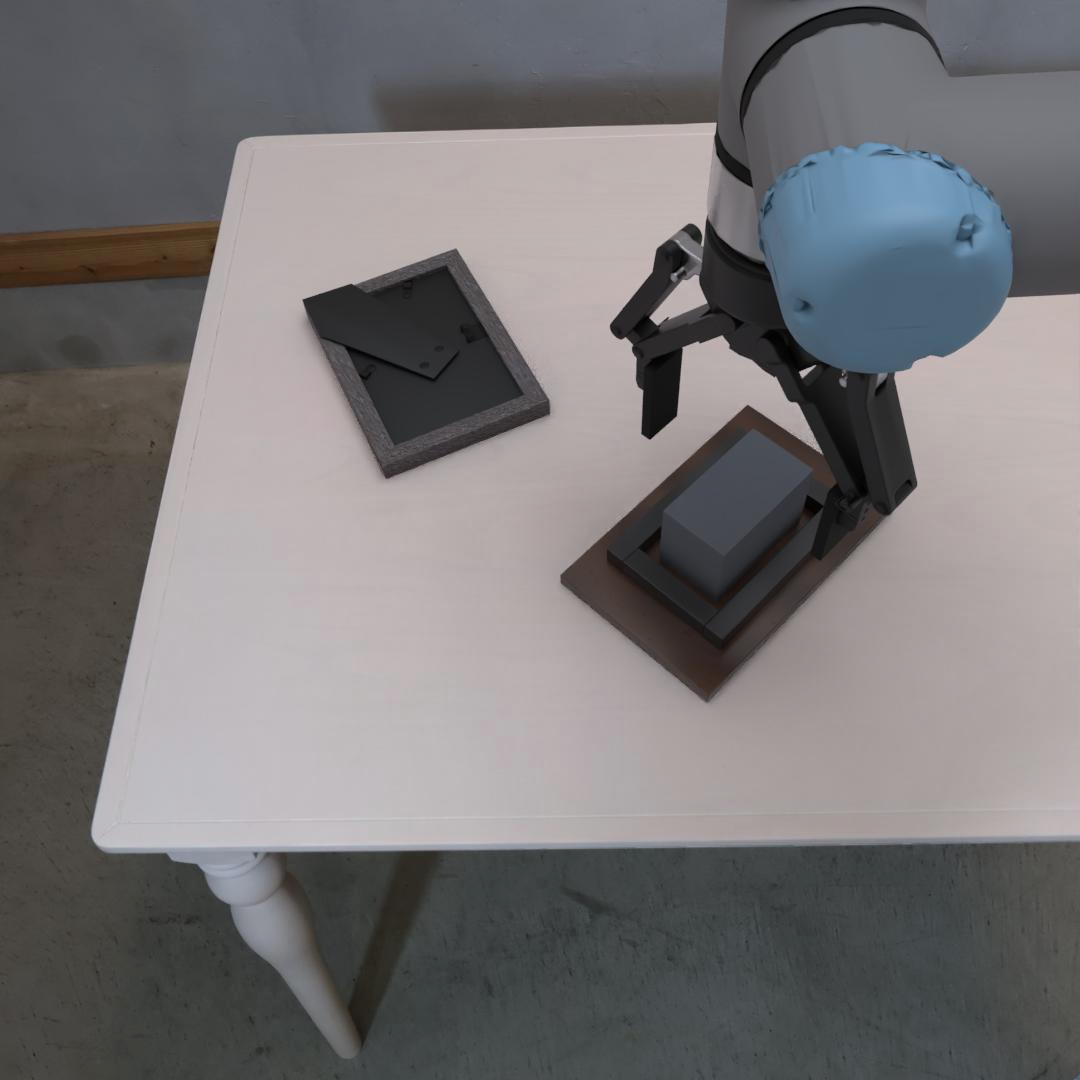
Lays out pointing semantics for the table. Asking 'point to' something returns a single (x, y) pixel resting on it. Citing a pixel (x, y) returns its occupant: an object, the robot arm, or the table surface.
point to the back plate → (682, 610)
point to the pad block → (734, 514)
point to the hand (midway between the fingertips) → (740, 482)
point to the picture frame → (424, 361)
